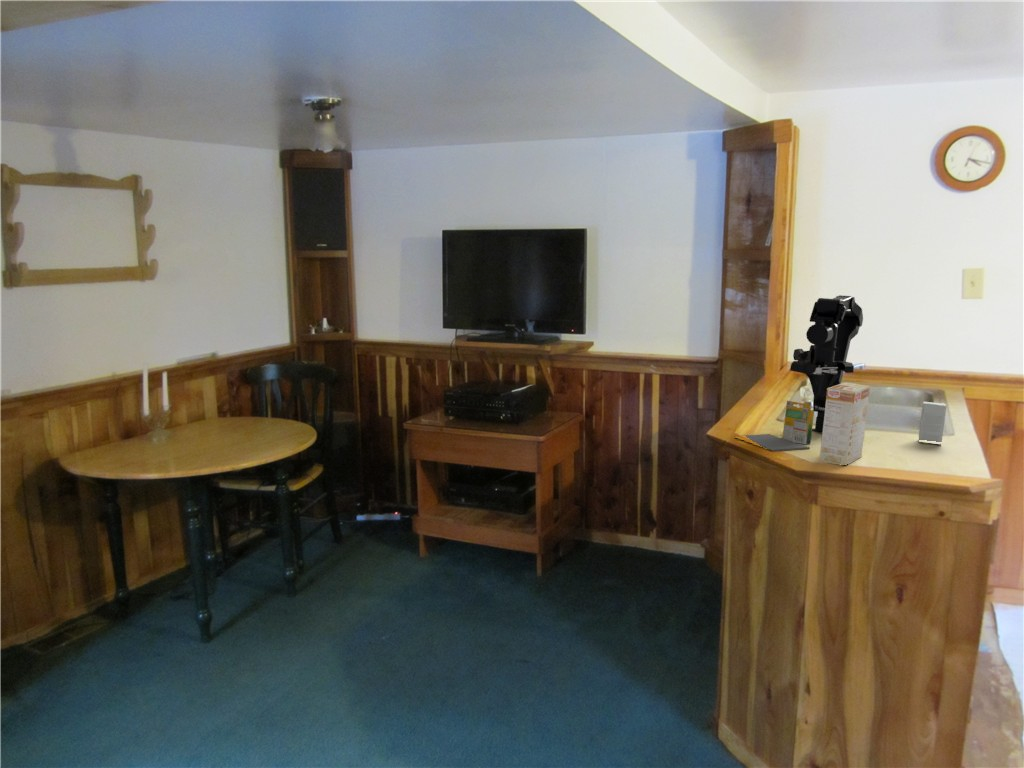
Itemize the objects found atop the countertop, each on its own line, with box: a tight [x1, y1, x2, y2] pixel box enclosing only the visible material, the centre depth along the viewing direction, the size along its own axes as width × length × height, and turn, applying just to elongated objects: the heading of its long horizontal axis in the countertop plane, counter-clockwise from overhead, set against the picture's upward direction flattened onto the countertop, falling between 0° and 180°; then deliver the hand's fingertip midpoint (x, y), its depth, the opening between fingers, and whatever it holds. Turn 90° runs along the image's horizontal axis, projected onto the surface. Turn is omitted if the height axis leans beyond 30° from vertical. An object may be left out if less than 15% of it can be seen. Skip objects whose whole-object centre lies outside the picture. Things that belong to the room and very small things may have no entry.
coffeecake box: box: [818, 382, 871, 466], centre depth 202 cm, size 15×7×20 cm, turn 141°
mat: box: [744, 433, 810, 452], centre depth 218 cm, size 13×16×1 cm
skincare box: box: [918, 401, 947, 443], centre depth 228 cm, size 6×4×12 cm
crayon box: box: [782, 400, 815, 446], centre depth 220 cm, size 7×3×12 cm, turn 42°
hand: (818, 396), depth 222 cm, fingers open, 2 cm apart
